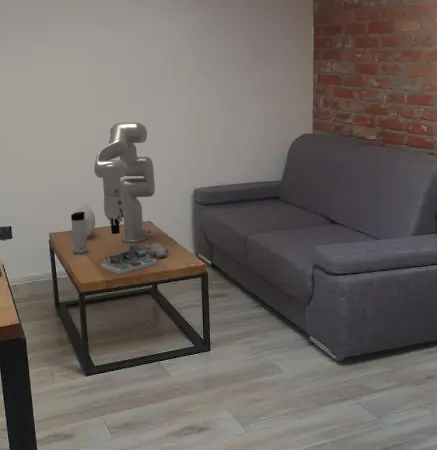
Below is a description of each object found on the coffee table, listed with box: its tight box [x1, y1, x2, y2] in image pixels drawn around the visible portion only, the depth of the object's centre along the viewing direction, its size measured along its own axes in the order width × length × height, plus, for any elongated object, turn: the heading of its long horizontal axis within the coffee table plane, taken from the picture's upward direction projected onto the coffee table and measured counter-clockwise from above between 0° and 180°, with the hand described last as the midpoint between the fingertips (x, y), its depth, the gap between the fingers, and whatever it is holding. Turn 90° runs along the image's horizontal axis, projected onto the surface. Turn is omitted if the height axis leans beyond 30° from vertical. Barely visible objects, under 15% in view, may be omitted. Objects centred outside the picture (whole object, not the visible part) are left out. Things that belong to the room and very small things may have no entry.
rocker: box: [104, 253, 122, 261], centre depth 307 cm, size 4×8×2 cm, turn 41°
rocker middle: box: [120, 249, 134, 257], centre depth 311 cm, size 4×8×2 cm, turn 41°
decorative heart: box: [74, 202, 96, 240], centre depth 360 cm, size 18×11×17 cm, turn 15°
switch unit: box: [100, 248, 158, 275], centre depth 310 cm, size 20×15×5 cm
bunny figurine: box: [142, 242, 169, 259], centre depth 326 cm, size 10×5×15 cm
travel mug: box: [70, 211, 88, 255], centre depth 332 cm, size 6×7×20 cm
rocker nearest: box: [128, 244, 148, 258], centre depth 315 cm, size 4×8×2 cm, turn 41°
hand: (115, 233), depth 302 cm, fingers closed
